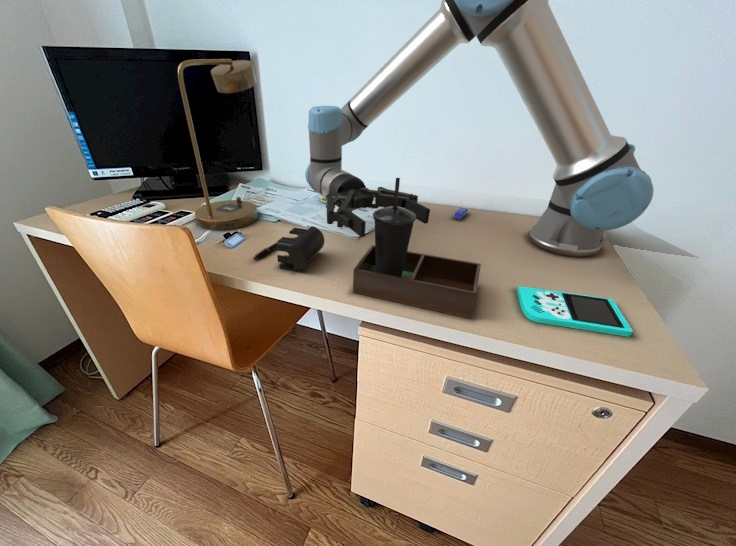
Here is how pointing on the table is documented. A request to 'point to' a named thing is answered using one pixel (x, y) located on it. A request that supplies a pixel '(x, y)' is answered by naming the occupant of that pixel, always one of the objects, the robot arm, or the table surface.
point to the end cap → (299, 247)
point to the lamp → (214, 214)
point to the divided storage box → (422, 282)
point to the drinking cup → (392, 236)
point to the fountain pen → (264, 251)
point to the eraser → (460, 213)
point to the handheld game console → (573, 311)
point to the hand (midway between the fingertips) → (396, 222)
